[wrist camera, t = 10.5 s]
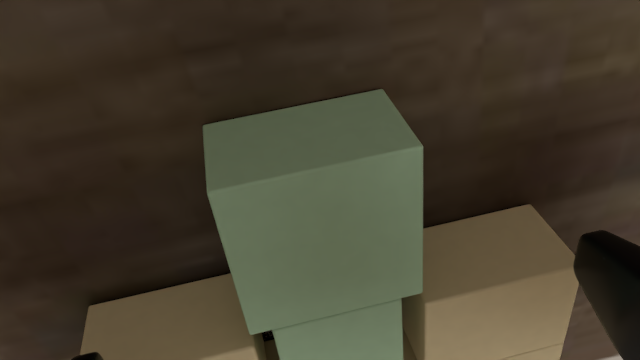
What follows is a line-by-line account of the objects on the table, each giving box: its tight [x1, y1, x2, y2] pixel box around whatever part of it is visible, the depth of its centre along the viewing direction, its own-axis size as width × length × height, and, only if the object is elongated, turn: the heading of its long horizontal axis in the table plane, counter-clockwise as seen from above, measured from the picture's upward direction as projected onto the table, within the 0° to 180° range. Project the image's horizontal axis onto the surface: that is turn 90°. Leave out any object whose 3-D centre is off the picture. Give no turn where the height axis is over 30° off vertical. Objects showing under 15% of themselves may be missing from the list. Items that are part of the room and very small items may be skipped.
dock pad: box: [80, 204, 579, 360], centre depth 15 cm, size 12×6×2 cm, turn 97°
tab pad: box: [203, 89, 423, 360], centre depth 13 cm, size 7×4×2 cm, turn 6°
